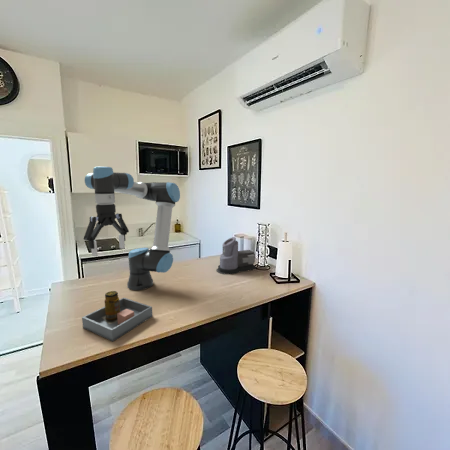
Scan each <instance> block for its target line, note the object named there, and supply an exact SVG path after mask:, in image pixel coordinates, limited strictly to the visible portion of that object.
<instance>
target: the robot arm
mask: <svg viewBox="0 0 450 450" xmlns="http://www.w3.org/2000/svg"><path fill="white" fill-rule="evenodd" d="M92 171H93V172H90V173H87V174H86V175H85V176H84V184H85V186H86V188H89V190H90V189H92V190H94V199H95V200H94V201H95V204H96V205H95V212H96V216H92V215H91V216H90V217H89V223H88V226H87V228H86V231H85V233H84V236H83V240H84V241H88V246H89V247H88V248H89V249H91V256H92V257H99V256H98V245H97V240H96V239H97V237H98V236H99V234H100V232H101V230H102V229H103V228H104V227H106V226H113V228H114V229H115V230H116V231H117V232H118V242H119V244H118V245H119V249H121V250H125V249H126V246H125V245H126V244H125V241H126V235H127V234H128V233H129V232H130V231H129V228H128V226H127V224H126V222H125V221H124V219H123V215H122V213H119V212H117V213H116V199H115V198H116V197H115V193H119V194H125V195H130V196H135V197H136V198H139V199H143V200H147V201H151V202H155V204H156V206H157V210H156V217H155V218H156V219H155V228H154V237H153V244H152V247H150V248H148V247H140V248H135V249H132V250H130V251H129V252H128V267H129V268H128V269H129V276H128V281H127V284H126V285H127V286H126V287H127V288H129V290H131V289H132V290H131V291H143V290H146V289H148V288H149V289H150V288H151V287H153V285H154V280H153V277H152V274H151V272H152V273H153V272H154V273H158V274H159V273H161V274H163V273H164V274H165V273H167V272H169V270H171V267H172V266H173V262H174V257H173V254H172V253H171V250H170V248H169V241H170V240H169V239H170V232H171V223H172V212H173V208H174V207H175V206H176V203H178V202H179V201H180V199H181V191H180V188H179V186H178V184H177V183H175V182H169V181H167V182H158V181H157V182H143V181H139V182H136V181H134V178H133V176H132V175H131V174H130V173H127V172H115V171H114V169H113V167H111V166H94V167H93V169H92ZM116 220H117V221H116Z"/></svg>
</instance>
